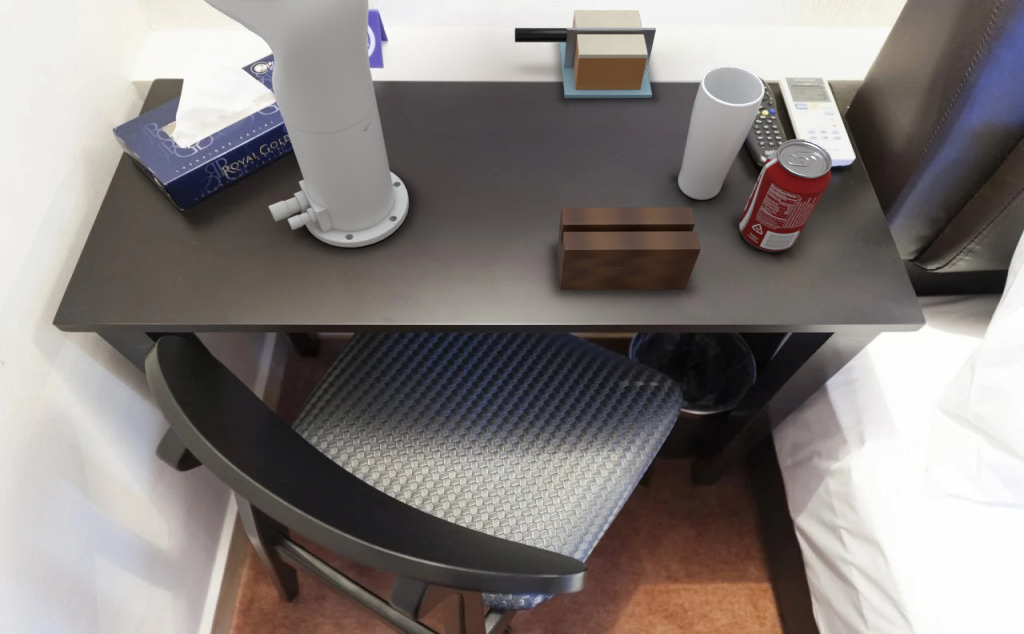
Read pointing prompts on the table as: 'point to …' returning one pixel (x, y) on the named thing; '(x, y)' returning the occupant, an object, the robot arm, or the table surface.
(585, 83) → the boxes on blue tray
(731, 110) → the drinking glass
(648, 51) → the knife
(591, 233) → the block
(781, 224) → the soda can
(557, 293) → the table surface
